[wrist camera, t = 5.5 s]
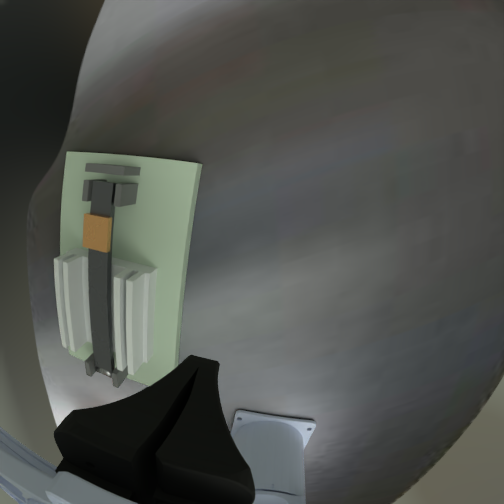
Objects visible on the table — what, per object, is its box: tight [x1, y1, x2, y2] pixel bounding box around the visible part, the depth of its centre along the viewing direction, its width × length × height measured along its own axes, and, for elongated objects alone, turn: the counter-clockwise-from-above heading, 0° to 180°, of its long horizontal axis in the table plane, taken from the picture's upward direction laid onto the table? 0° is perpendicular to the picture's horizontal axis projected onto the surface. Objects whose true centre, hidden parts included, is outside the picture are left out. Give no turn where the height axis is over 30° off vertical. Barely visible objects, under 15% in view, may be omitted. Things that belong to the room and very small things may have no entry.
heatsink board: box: [54, 152, 202, 388], centre depth 21 cm, size 20×12×5 cm, turn 170°
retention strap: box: [83, 181, 118, 378], centre depth 20 cm, size 16×2×1 cm, turn 170°
